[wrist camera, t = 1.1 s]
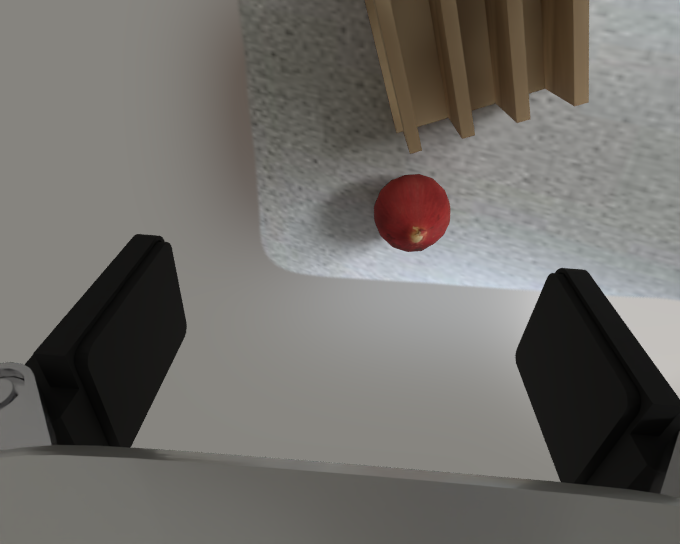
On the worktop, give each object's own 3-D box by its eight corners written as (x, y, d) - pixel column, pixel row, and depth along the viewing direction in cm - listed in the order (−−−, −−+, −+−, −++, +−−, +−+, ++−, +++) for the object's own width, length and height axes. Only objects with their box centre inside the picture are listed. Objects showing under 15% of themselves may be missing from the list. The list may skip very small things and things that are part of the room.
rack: (552, -137, 25) (601, -165, 20) (558, 79, 31) (597, 99, 26) (351, -57, 27) (349, -64, 22) (395, 129, 33) (402, 156, 28)
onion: (439, 222, 38) (457, 274, 31) (373, 225, 38) (377, 277, 32) (443, 157, 35) (464, 200, 28) (371, 162, 35) (375, 205, 28)
